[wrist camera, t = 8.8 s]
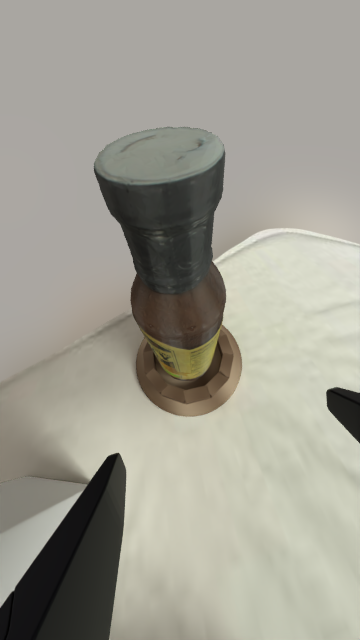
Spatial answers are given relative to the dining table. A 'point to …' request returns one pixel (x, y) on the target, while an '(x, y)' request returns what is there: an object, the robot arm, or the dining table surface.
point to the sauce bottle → (170, 238)
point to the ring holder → (196, 393)
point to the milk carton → (29, 522)
